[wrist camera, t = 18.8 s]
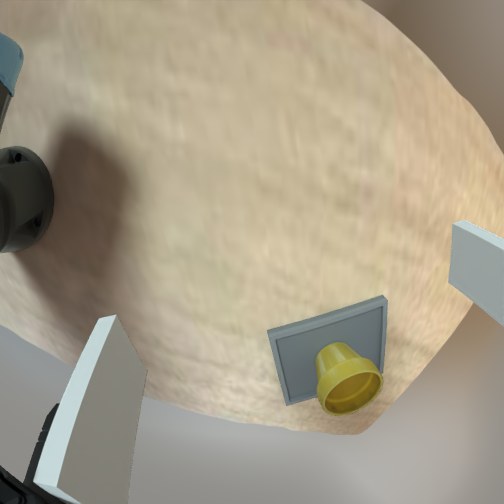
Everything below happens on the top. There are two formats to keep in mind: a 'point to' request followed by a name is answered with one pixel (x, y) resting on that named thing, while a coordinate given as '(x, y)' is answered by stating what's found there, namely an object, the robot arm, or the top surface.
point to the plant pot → (345, 379)
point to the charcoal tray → (322, 334)
